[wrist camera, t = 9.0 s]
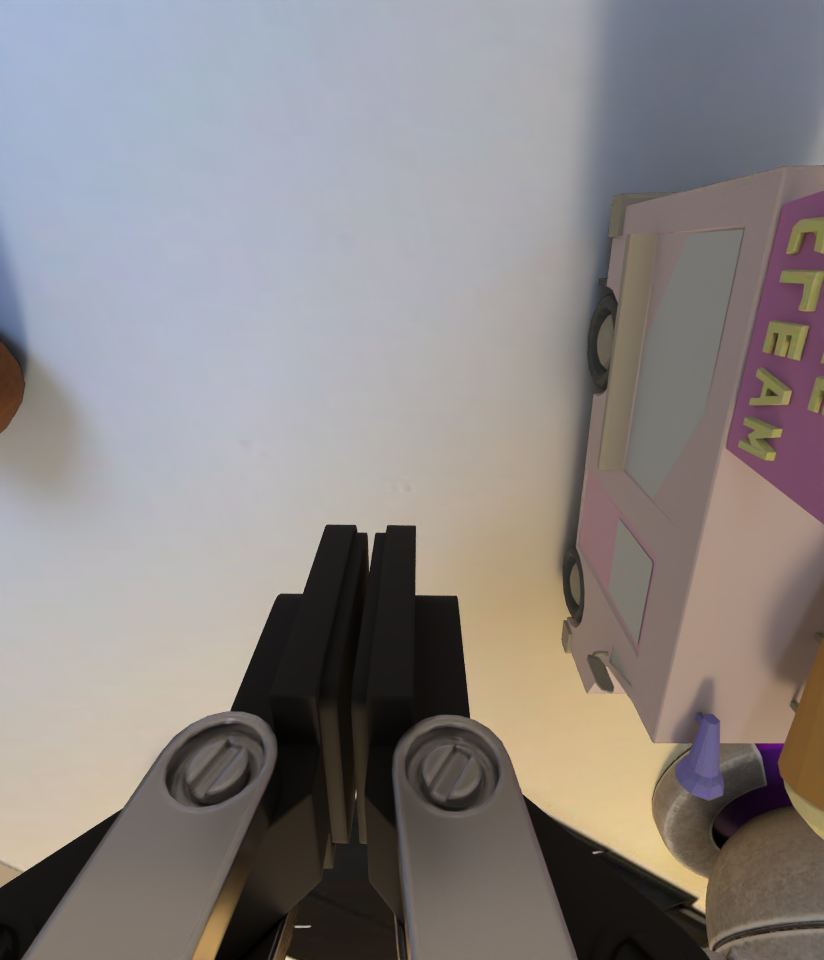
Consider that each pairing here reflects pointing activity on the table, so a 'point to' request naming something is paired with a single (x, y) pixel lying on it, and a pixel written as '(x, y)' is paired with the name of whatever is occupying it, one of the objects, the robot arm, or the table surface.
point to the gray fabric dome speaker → (749, 855)
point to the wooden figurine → (9, 387)
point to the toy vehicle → (710, 477)
